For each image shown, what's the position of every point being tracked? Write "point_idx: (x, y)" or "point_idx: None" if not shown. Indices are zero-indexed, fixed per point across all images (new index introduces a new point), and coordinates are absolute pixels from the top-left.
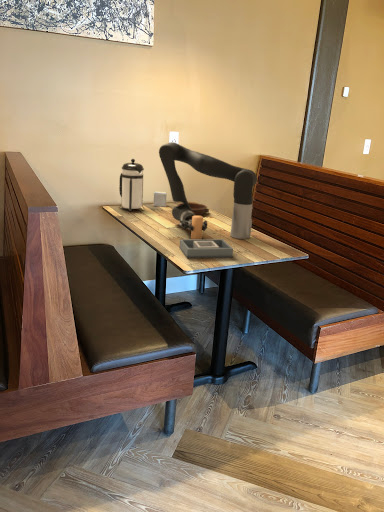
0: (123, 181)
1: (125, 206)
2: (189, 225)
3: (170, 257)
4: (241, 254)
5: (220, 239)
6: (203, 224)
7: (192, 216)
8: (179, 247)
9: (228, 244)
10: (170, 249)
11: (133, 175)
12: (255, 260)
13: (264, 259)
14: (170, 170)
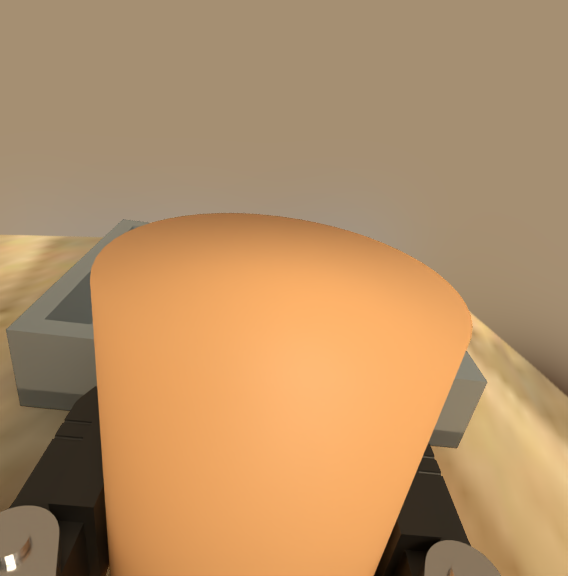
0: None
1: None
2: (447, 530)
3: (481, 326)
4: (13, 287)
5: (44, 326)
6: (23, 515)
7: (466, 315)
8: (458, 441)
9: (88, 252)
10: (527, 430)
11: None
12: (27, 236)
13: None
14: None
